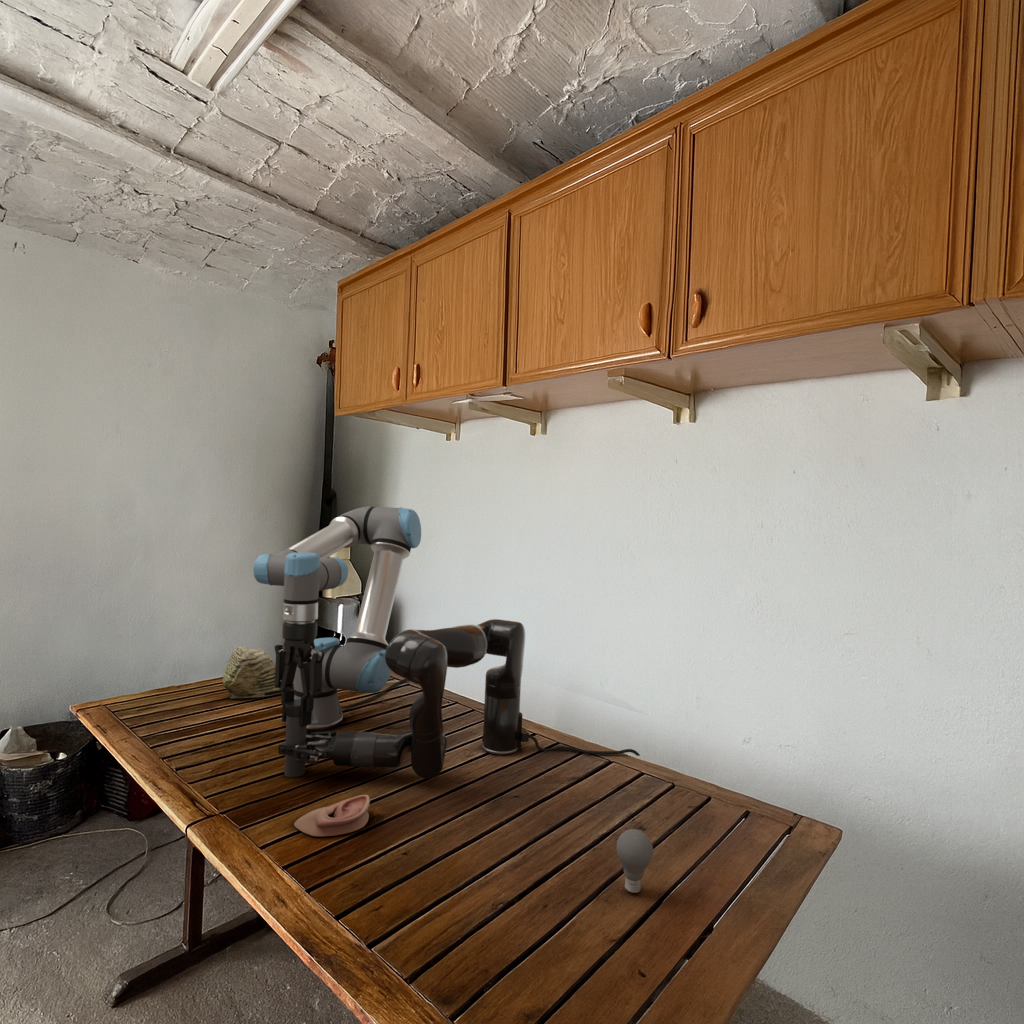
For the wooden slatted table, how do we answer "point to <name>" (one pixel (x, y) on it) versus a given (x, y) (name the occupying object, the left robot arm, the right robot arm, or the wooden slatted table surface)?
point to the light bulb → (634, 857)
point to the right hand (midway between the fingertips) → (284, 744)
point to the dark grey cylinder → (297, 737)
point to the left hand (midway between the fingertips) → (296, 722)
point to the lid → (293, 707)
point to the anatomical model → (336, 818)
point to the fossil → (250, 674)
